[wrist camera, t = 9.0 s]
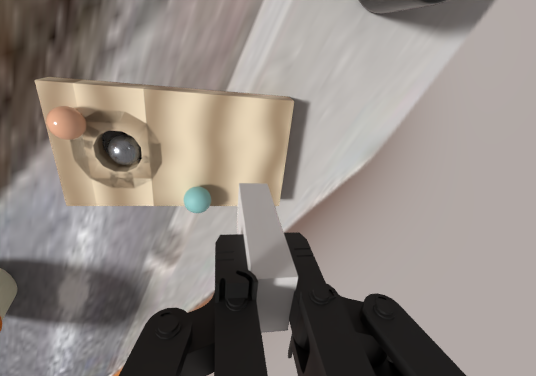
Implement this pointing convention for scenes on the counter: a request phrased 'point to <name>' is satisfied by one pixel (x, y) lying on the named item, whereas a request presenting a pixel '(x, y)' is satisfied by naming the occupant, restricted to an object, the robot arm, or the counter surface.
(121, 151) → the steel ball
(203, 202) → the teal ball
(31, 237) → the counter surface
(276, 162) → the maple board
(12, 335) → the counter surface
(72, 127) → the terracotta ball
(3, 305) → the reusable coffee cup
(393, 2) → the supplement bottle
